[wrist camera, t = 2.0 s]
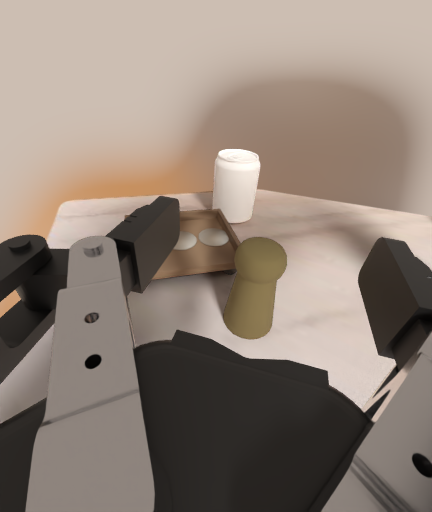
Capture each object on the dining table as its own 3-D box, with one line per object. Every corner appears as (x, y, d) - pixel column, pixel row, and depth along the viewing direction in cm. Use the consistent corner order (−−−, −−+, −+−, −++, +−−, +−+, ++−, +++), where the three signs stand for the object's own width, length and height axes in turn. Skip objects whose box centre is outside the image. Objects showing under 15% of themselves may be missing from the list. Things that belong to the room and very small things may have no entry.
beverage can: (259, 215, 52) (270, 156, 44) (235, 230, 47) (244, 165, 39) (228, 202, 56) (234, 145, 48) (203, 215, 51) (205, 153, 43)
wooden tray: (218, 228, 47) (220, 208, 44) (242, 275, 37) (246, 252, 34) (128, 237, 43) (124, 215, 40) (128, 291, 33) (123, 267, 31)
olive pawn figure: (213, 311, 31) (219, 238, 25) (250, 293, 34) (265, 223, 27) (243, 348, 28) (260, 274, 21) (282, 324, 30) (308, 253, 24)
